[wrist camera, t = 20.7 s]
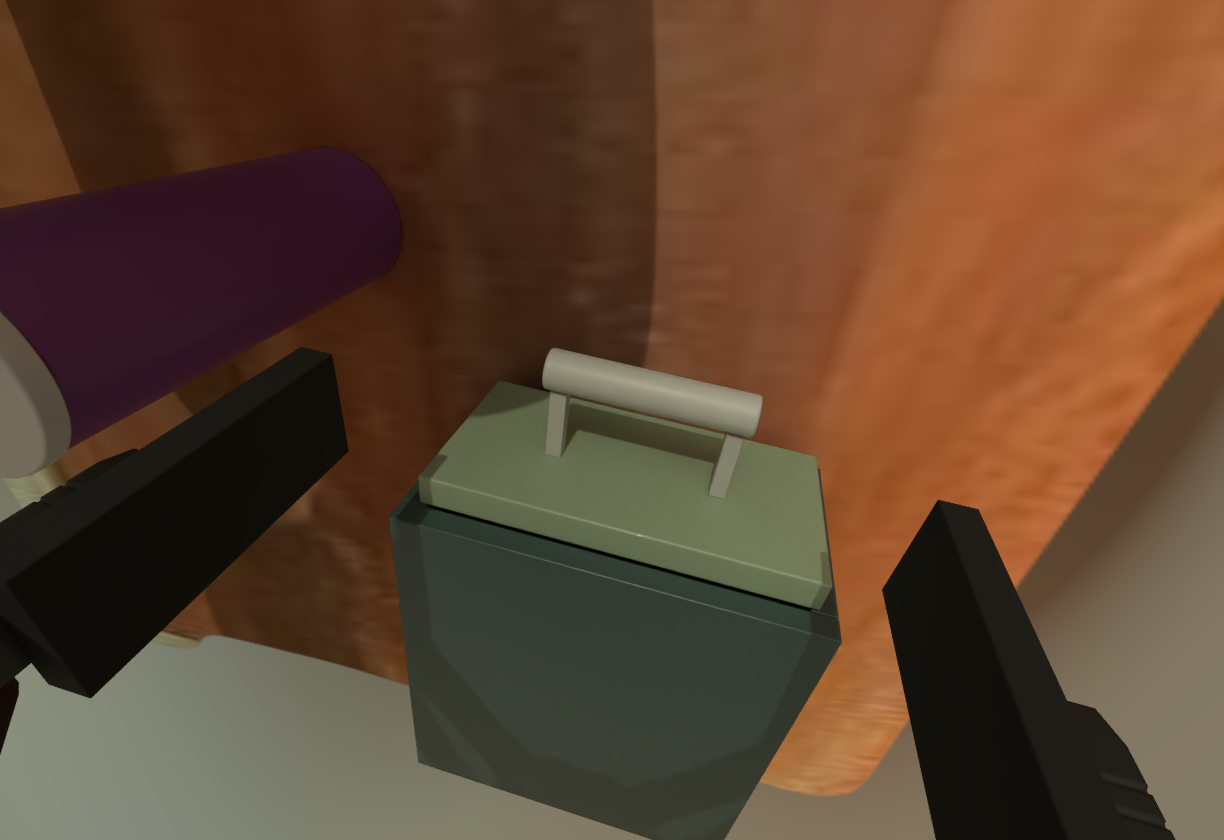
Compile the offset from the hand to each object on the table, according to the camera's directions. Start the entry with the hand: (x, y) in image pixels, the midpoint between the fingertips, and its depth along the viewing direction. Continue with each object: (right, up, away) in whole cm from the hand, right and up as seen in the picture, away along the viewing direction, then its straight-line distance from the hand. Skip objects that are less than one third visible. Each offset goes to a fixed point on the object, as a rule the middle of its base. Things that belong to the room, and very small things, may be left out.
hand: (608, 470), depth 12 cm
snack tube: (-11, +9, +11) cm, 18 cm away
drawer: (+1, -3, +14) cm, 15 cm away
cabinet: (+1, -6, +17) cm, 18 cm away
